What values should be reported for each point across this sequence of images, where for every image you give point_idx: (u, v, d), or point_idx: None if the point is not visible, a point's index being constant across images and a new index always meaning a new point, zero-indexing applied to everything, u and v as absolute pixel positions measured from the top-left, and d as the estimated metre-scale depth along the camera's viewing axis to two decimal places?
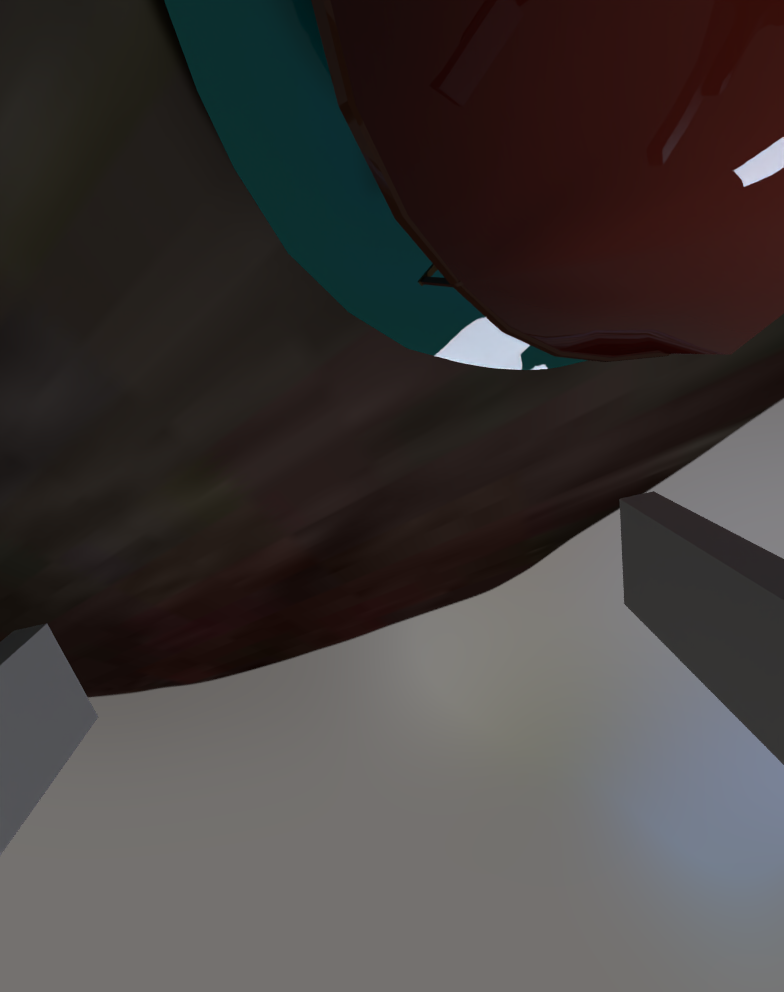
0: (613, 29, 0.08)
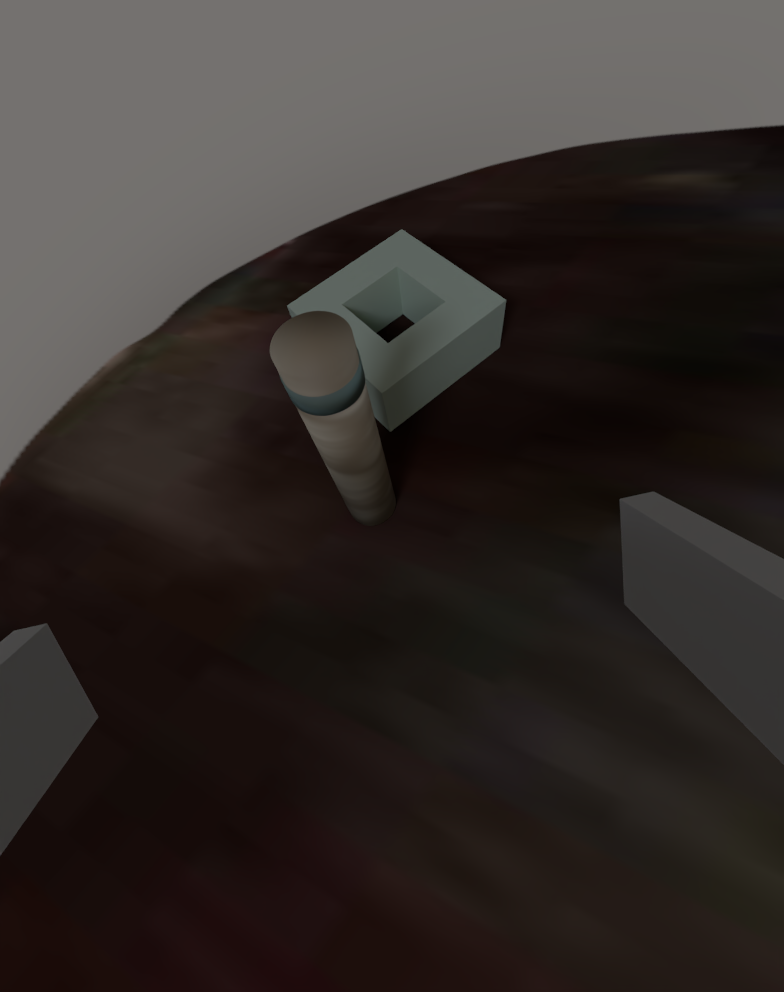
0: None
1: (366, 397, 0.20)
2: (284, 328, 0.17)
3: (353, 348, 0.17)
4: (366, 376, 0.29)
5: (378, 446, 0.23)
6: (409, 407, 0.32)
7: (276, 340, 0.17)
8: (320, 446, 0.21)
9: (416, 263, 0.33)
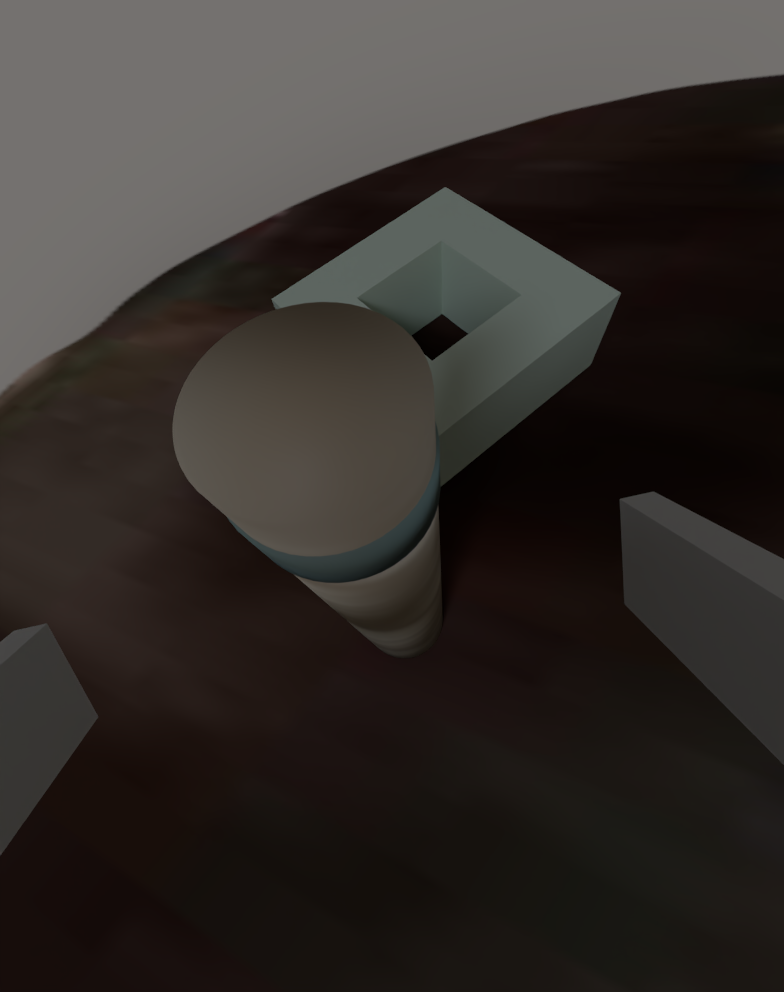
0: None
1: (437, 515, 0.08)
2: (222, 352, 0.06)
3: (433, 420, 0.05)
4: None
5: (439, 578, 0.12)
6: (461, 459, 0.21)
7: (196, 391, 0.06)
8: None
9: (471, 236, 0.22)
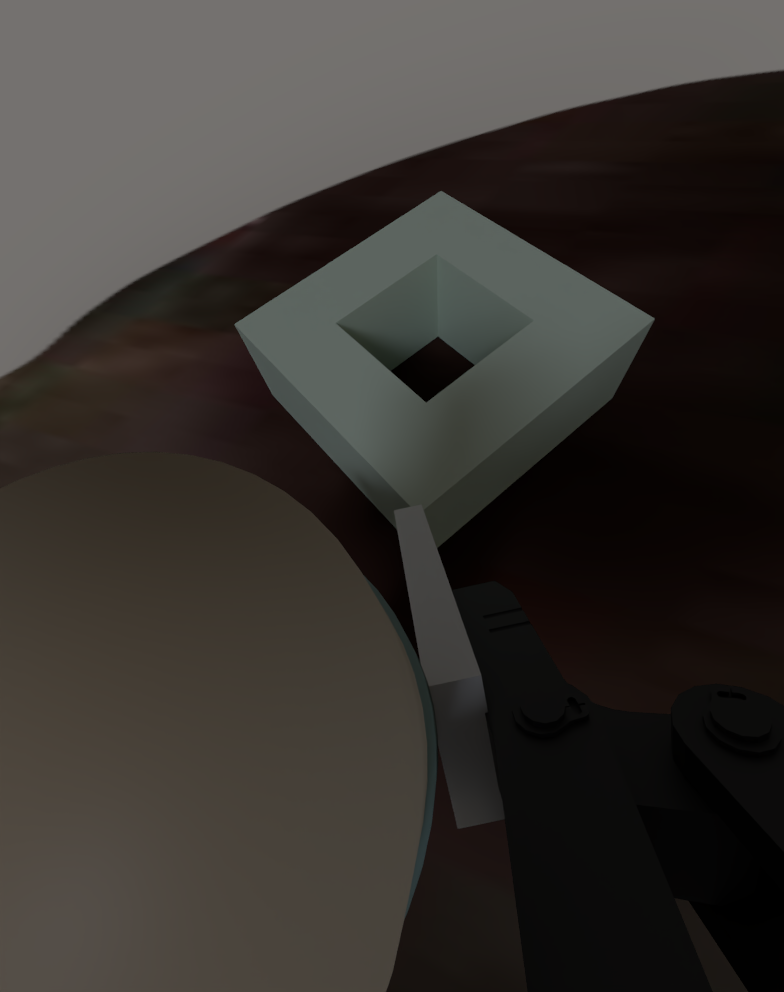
0: None
1: None
2: None
3: (415, 849, 0.02)
4: (384, 474, 0.14)
5: None
6: (462, 517, 0.17)
7: None
8: None
9: (471, 249, 0.18)
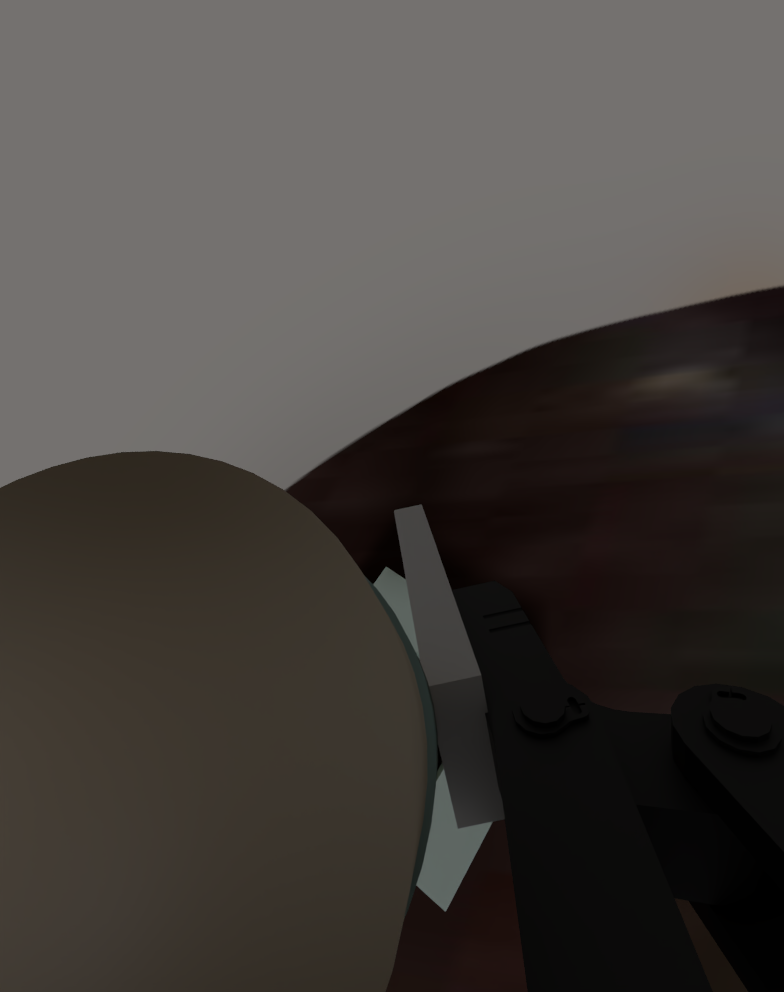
0: None
1: None
2: None
3: (415, 847, 0.02)
4: None
5: None
6: None
7: None
8: None
9: None
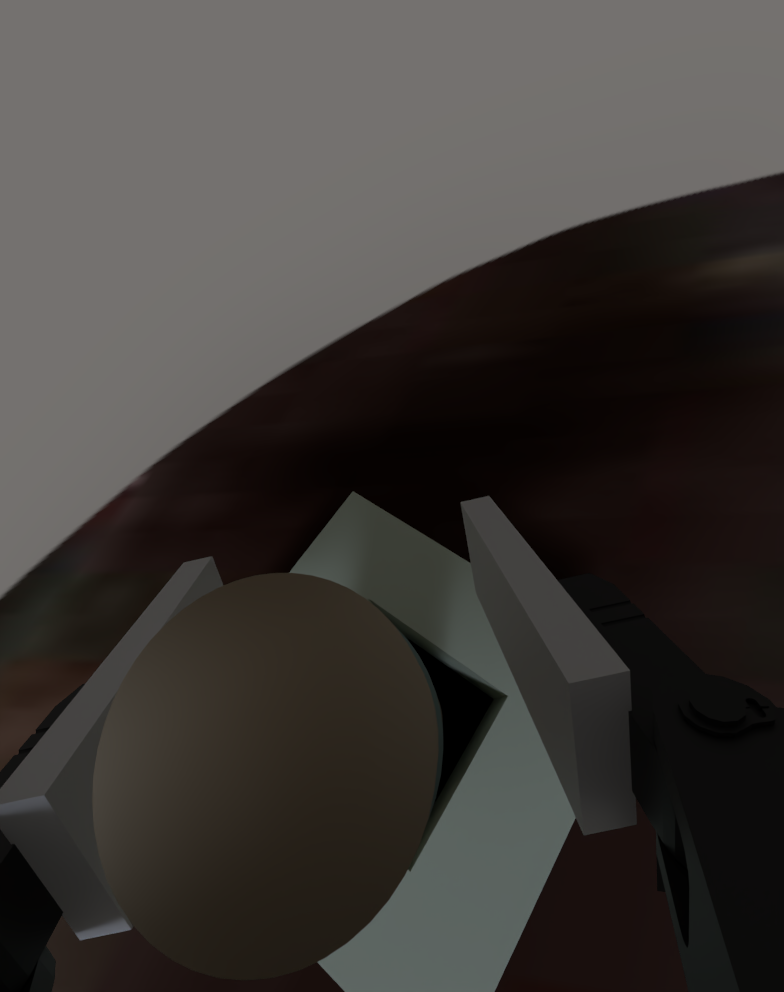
0: None
1: None
2: (164, 651, 0.05)
3: (436, 775, 0.04)
4: None
5: None
6: None
7: (128, 716, 0.04)
8: None
9: (408, 584, 0.15)
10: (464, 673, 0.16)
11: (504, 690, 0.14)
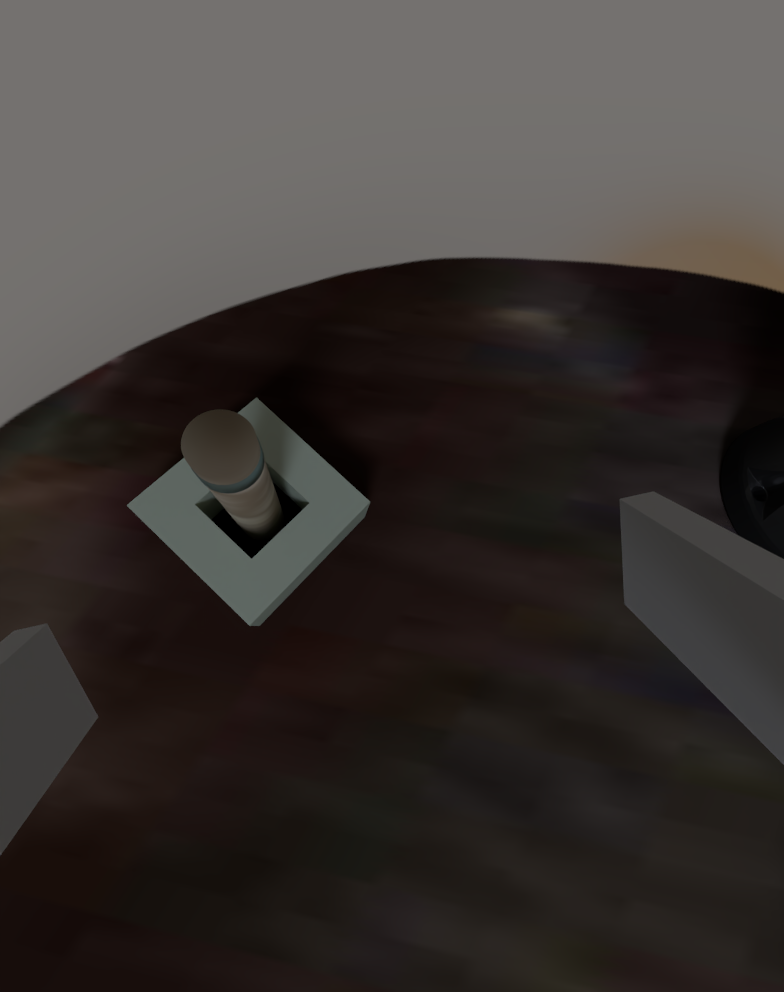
0: None
1: (263, 476, 0.23)
2: (197, 421, 0.20)
3: (255, 455, 0.20)
4: (230, 604, 0.28)
5: (270, 499, 0.27)
6: (278, 603, 0.32)
7: (188, 432, 0.20)
8: (217, 499, 0.25)
9: (275, 448, 0.31)
10: (296, 498, 0.33)
11: (308, 500, 0.31)
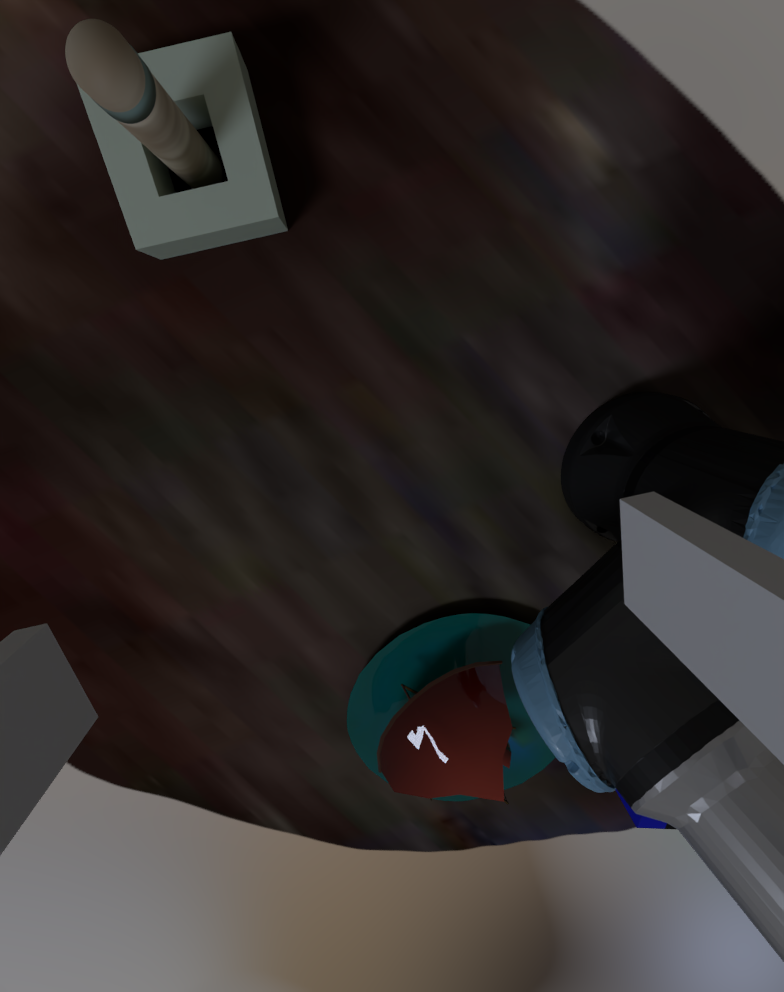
0: (476, 727, 0.46)
1: (153, 122, 0.26)
2: (88, 25, 0.22)
3: (127, 95, 0.23)
4: (128, 222, 0.33)
5: (177, 151, 0.29)
6: (179, 252, 0.37)
7: (77, 31, 0.22)
8: None
9: (224, 105, 0.32)
10: None
11: (228, 178, 0.33)
